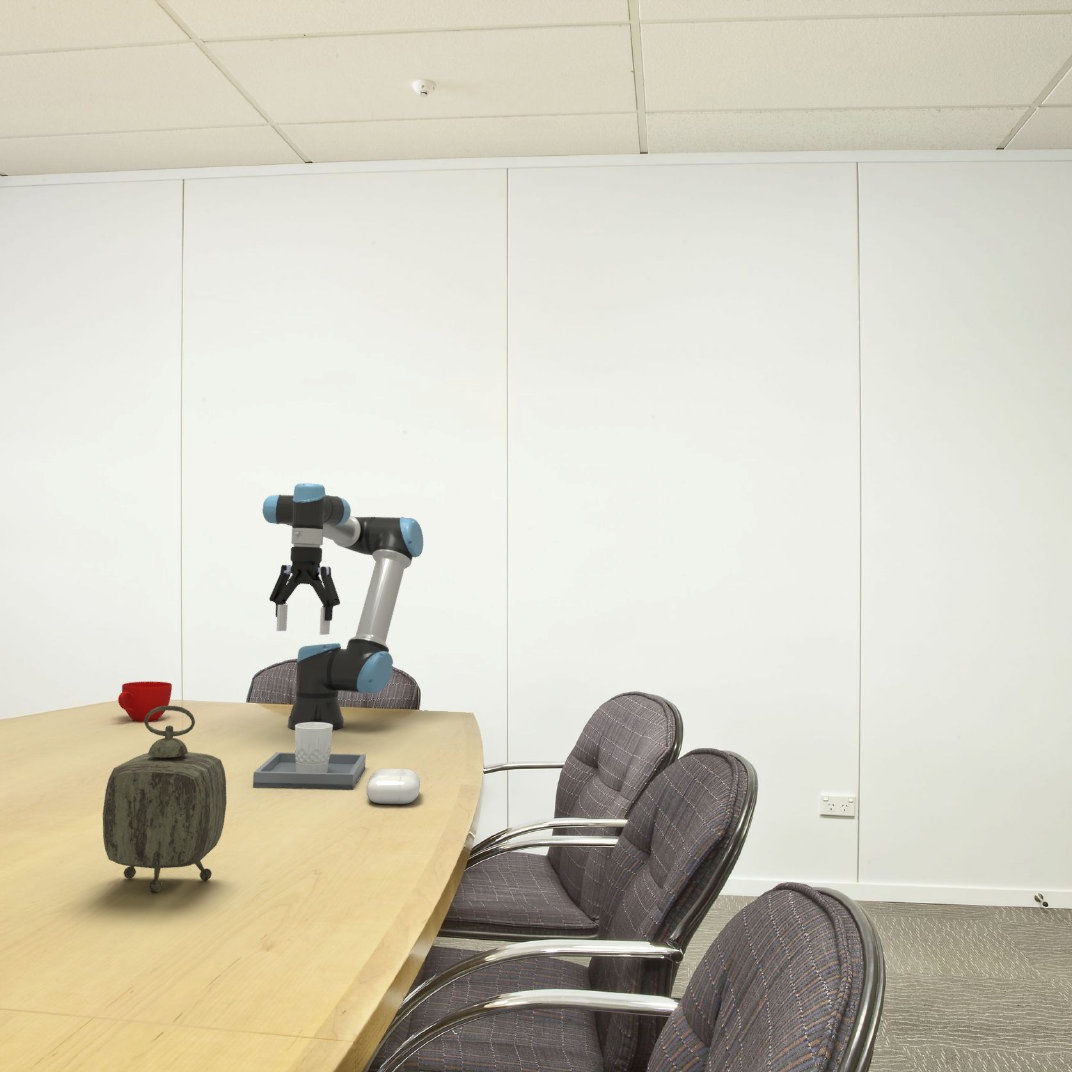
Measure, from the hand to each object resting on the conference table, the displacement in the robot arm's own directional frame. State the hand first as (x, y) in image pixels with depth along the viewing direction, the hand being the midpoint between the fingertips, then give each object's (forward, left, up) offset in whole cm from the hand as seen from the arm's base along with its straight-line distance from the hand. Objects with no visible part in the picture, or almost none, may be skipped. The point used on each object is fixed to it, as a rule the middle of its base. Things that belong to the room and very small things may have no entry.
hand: (302, 632), depth 218 cm
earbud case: (+46, -24, -29) cm, 59 cm away
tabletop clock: (+47, -81, -29) cm, 98 cm away
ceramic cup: (-61, +5, -29) cm, 68 cm away
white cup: (+21, -19, -28) cm, 40 cm away
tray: (+21, -19, -29) cm, 40 cm away
